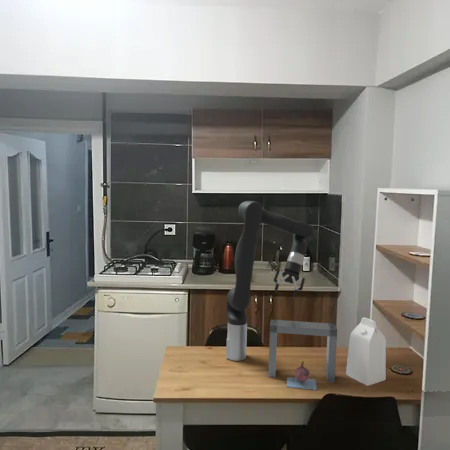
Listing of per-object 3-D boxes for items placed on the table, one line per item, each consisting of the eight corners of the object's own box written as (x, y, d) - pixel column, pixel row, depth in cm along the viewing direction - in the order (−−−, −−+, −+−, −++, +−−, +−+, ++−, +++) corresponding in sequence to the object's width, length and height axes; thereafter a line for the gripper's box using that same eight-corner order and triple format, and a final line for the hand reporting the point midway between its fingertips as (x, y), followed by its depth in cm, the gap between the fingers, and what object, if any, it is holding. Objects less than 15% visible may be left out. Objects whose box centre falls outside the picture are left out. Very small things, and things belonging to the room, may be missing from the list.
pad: (286, 387, 174) (287, 385, 174) (286, 378, 182) (286, 377, 182) (316, 390, 172) (316, 388, 172) (315, 381, 180) (315, 379, 180)
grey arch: (268, 376, 183) (270, 325, 180) (269, 368, 191) (270, 319, 188) (334, 382, 179) (337, 330, 176) (332, 374, 187) (335, 323, 184)
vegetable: (297, 386, 173) (298, 363, 172) (291, 379, 179) (292, 357, 178) (311, 385, 175) (312, 362, 174) (305, 378, 181) (306, 356, 180)
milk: (385, 379, 183) (389, 321, 180) (367, 385, 177) (370, 325, 174) (363, 369, 193) (366, 313, 190) (345, 374, 187) (348, 317, 184)
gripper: (280, 257, 203) (270, 289, 200) (309, 266, 200) (299, 298, 197) (280, 259, 210) (270, 290, 207) (308, 268, 208) (298, 300, 204)
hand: (284, 294), depth 202 cm, fingers open, 8 cm apart
